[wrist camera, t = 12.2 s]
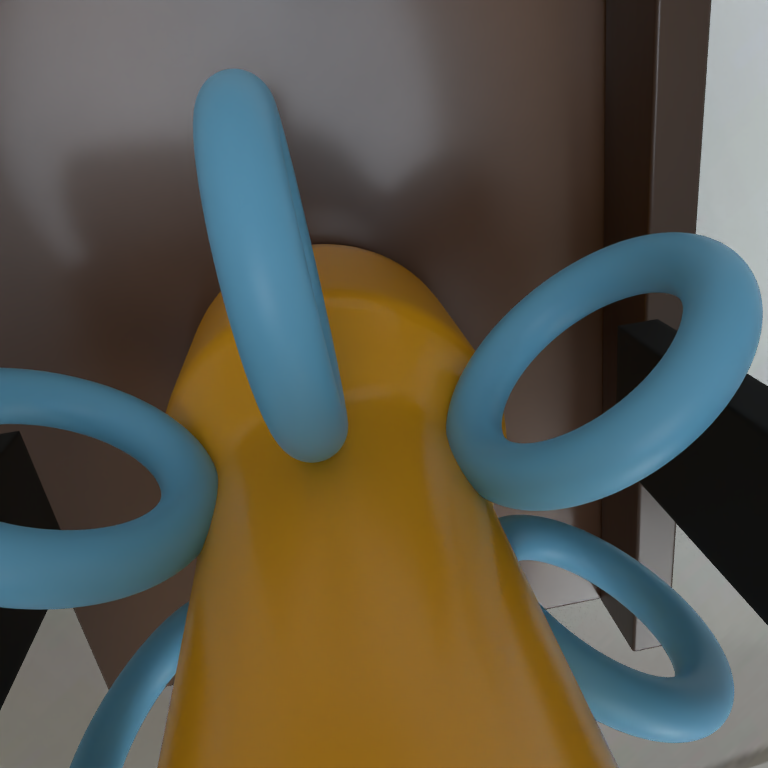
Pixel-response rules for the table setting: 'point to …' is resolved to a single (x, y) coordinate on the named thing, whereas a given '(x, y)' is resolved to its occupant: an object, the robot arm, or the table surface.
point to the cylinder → (379, 500)
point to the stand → (340, 208)
